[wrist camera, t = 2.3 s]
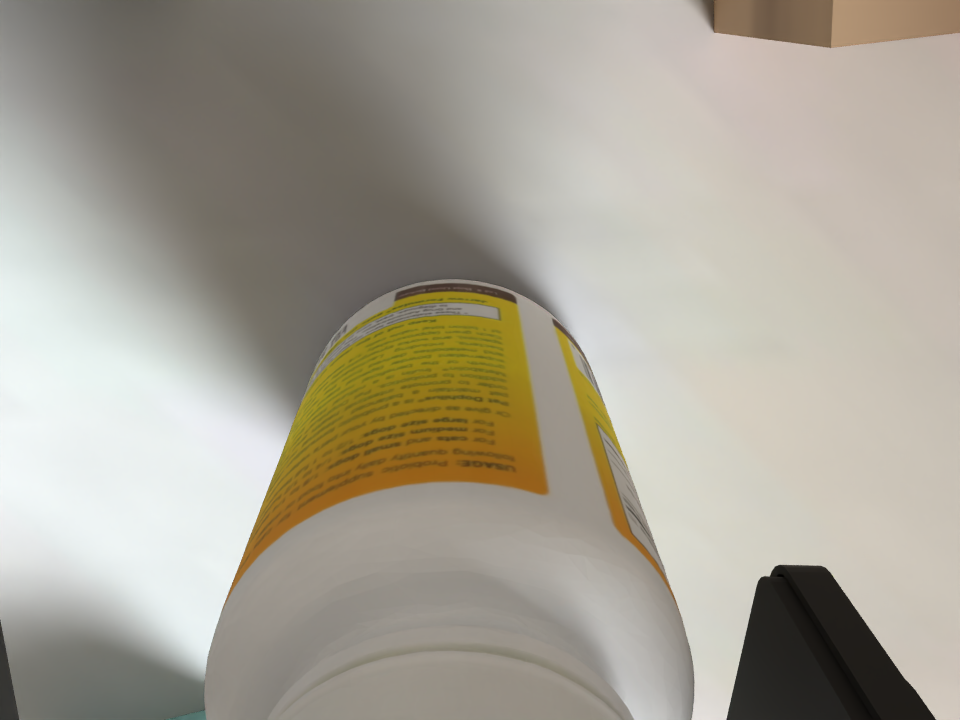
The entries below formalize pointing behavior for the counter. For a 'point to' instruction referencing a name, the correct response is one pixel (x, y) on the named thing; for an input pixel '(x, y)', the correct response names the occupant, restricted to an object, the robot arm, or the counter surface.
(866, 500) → the counter surface
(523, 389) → the supplement bottle
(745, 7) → the walnut block
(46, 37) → the counter surface
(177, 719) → the teal block
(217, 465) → the counter surface
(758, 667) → the robot arm
